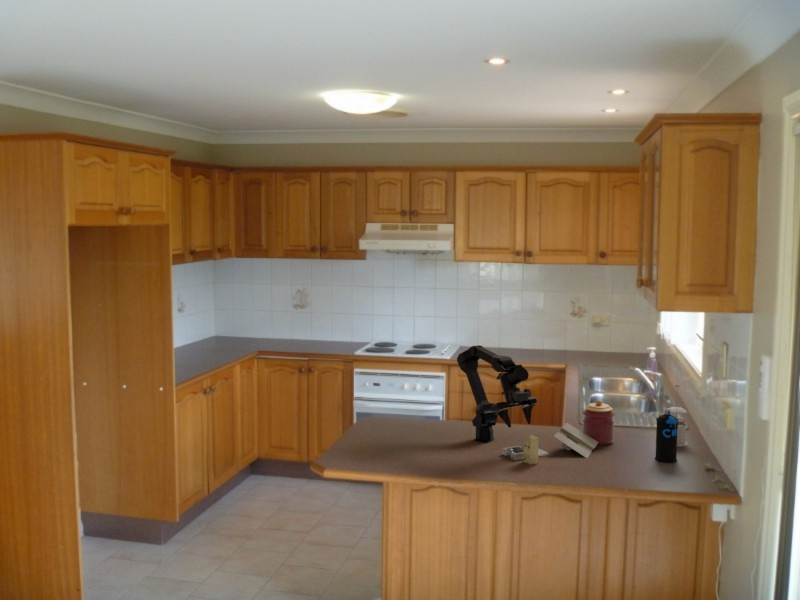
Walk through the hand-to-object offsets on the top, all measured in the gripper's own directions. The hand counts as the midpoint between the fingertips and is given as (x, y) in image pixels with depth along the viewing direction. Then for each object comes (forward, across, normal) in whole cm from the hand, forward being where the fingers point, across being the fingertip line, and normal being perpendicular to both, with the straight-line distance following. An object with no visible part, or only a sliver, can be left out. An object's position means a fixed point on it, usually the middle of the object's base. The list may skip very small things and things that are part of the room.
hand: (519, 425), depth 311 cm
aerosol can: (+25, +46, -22) cm, 57 cm away
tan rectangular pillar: (+15, -3, -5) cm, 16 cm away
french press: (+19, +67, -8) cm, 70 cm away
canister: (+12, +40, +6) cm, 42 cm away
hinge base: (+11, +1, +3) cm, 12 cm away
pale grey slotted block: (+14, +23, 0) cm, 27 cm away
